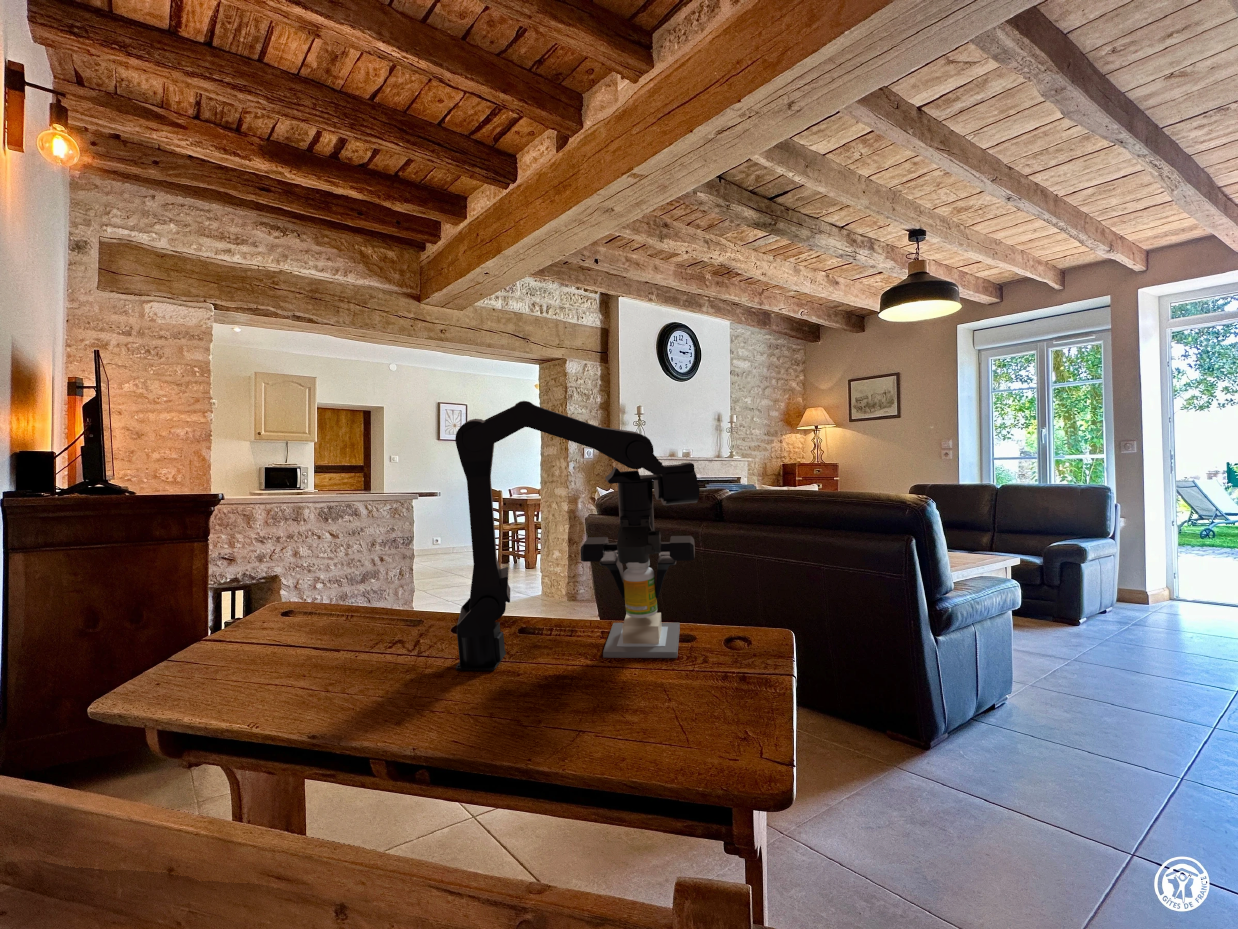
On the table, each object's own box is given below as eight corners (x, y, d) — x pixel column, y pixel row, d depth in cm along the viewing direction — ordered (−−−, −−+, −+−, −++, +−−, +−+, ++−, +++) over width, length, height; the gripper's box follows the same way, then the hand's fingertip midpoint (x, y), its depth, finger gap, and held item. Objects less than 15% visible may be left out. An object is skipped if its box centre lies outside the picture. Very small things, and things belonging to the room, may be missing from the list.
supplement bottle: (655, 618, 103) (650, 562, 102) (623, 618, 104) (618, 562, 103) (659, 606, 108) (655, 552, 107) (629, 606, 109) (624, 553, 108)
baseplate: (603, 657, 102) (603, 651, 102) (613, 628, 114) (613, 622, 113) (677, 658, 100) (676, 651, 100) (679, 628, 112) (679, 622, 112)
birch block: (623, 643, 104) (622, 626, 104) (627, 629, 110) (626, 612, 110) (659, 643, 103) (658, 626, 103) (661, 629, 109) (660, 612, 109)
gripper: (570, 519, 97) (577, 615, 99) (691, 517, 94) (695, 616, 97) (584, 505, 108) (589, 591, 110) (693, 502, 105) (696, 591, 108)
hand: (640, 597), depth 106 cm, fingers closed on supplement bottle, 5 cm apart
